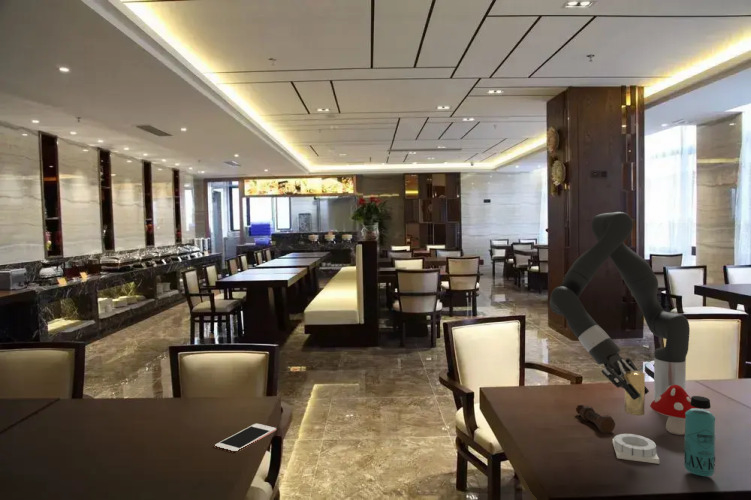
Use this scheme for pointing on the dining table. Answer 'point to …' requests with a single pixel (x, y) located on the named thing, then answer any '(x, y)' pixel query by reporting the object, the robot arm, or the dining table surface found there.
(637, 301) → the robot arm
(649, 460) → the seat block
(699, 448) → the beverage bottle
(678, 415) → the decorative mushroom
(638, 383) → the cylinder
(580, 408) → the bolt
